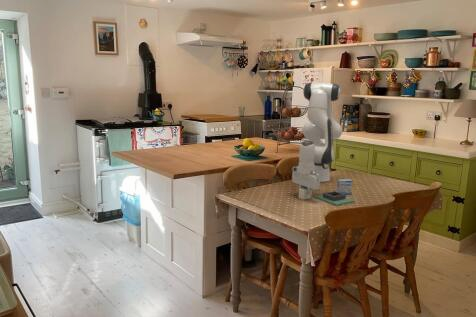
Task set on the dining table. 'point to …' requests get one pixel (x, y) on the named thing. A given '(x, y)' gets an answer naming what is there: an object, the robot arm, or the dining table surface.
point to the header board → (334, 198)
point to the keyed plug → (304, 193)
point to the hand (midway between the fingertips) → (305, 193)
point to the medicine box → (344, 186)
